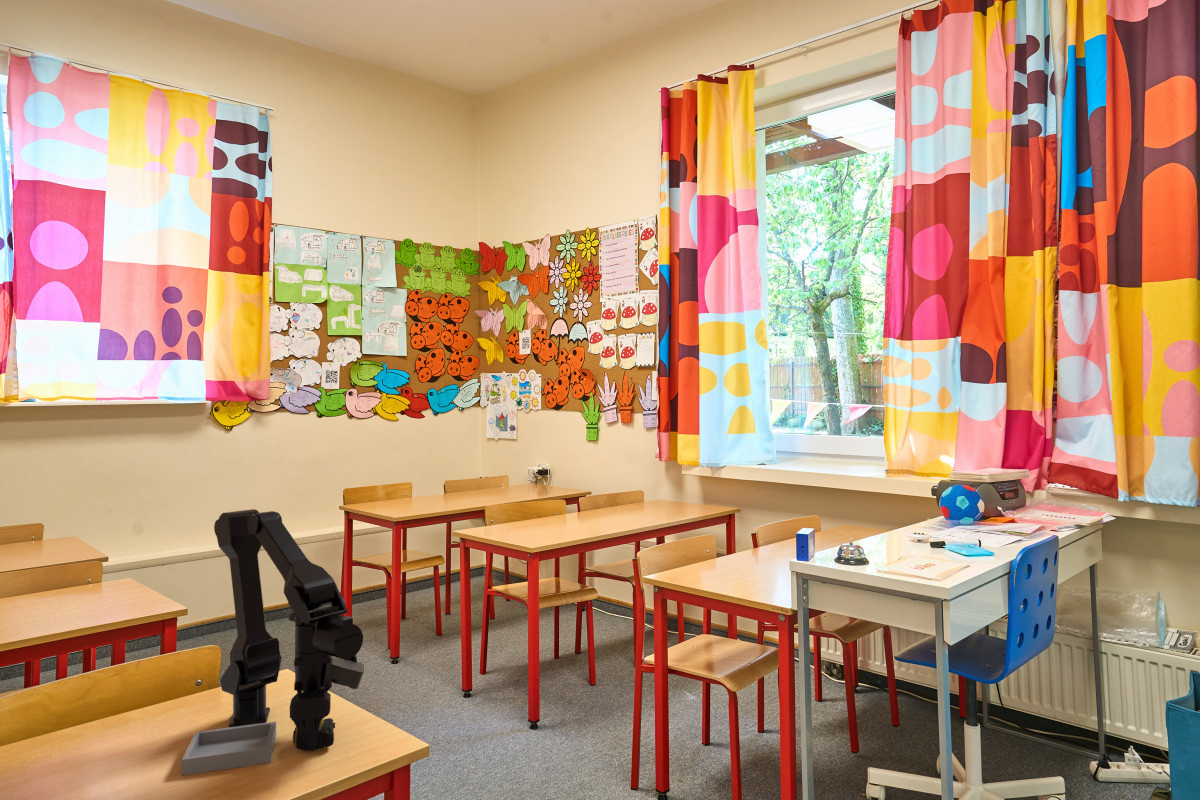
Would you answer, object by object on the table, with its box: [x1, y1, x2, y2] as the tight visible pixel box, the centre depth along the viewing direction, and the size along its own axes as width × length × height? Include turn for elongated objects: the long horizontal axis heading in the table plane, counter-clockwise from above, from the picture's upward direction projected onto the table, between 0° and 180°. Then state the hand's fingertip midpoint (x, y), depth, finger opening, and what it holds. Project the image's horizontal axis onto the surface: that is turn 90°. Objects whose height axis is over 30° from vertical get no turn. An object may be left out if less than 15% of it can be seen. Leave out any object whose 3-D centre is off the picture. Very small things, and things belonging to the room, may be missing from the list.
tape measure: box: [292, 717, 336, 752], centre depth 130 cm, size 7×7×4 cm
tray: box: [181, 721, 277, 776], centre depth 127 cm, size 11×13×2 cm
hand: (313, 738), depth 130 cm, fingers open, 9 cm apart
